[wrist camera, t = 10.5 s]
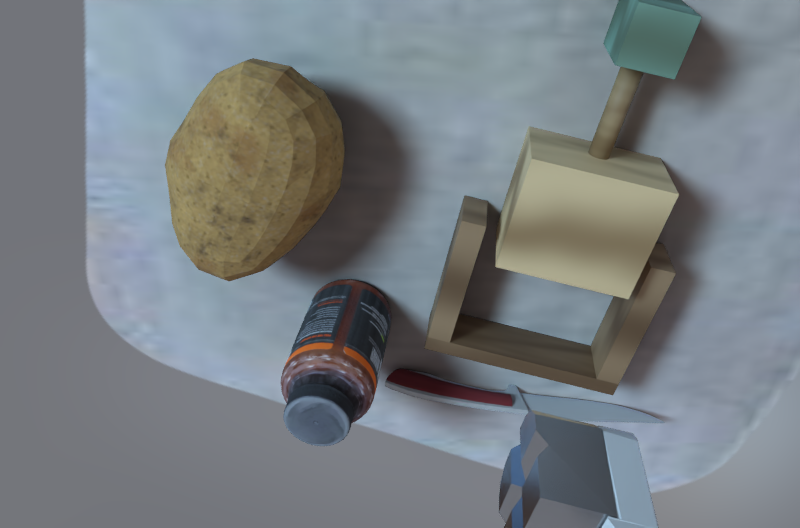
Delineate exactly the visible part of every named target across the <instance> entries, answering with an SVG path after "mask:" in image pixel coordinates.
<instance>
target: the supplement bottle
mask: <svg viewBox="0 0 800 528" xmlns="http://www.w3.org/2000/svg"><path fill="white" fill-rule="evenodd" d="M390 324H391V311H390V307H389V305H388V303H387V301H386V299H385V298H384V297H383V295H382V294H381V293H380V292H379V291H378V290H376V289H375V288H373V287H372V286H370V285H368V284H366V283H363V282H360V281H356V280H350V279H347V280H337V281H334V282H331V283H328V284H326V285H325V286H323V287H322V288H321V289H320V290H319V291H318V292H317V293H316V295H315V296H314V298H313V300H312V302H311V304H310V306H309V309H308V311H307V314H306V316H305V318H304V321H303V323H302V326H301V328H300V330H299V333H298V335H297V337H296V340H295V343H294V345H293V347H292V350H291V352H290V355H289V357H288V360H287V362H286V365H285V367H284V370H283V373H282V377H281V390H282V394H283V396H284V399H285V401H286V403H287V405H286V408H285V410H284V422H285V424H286V427H287V428H288V430H289V431H290V432H291V434H293V435H294V436H295V437H296V438H298V439H299V440H301V441H303V442H305V443H308V444H311V445H316V446H330V445H334V444H336V443H338V442H340V441H342V440H343V439H344V438H345V437H346V436H347V434H348V433H349V430H350V427H351V423H353V422H355V421H357V420H358V419H360V418H361V417H362V416H363V415H364V414H366V413H367V411H368V410H369V408H370V406H371V404H372V402H373V399H374V395H375V391H376V387H377V383H378V378H379V374H380V369H381V365H382V361H383V356H384V352H385V348H386V344H387V339H388V335H389V330H390Z"/></svg>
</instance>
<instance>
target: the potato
mask: <svg viewBox="0 0 800 528" xmlns="http://www.w3.org/2000/svg"><path fill="white" fill-rule="evenodd" d="M344 154H345V148H344V139H343V130H342V122H341V120H340V118H339V117H338V115H337V113H336V111H335V109H334V108H333V106H332V104H331V102H330V101H329V99H328V97H327V95H326V93H325V92H324V90H322V89H320V88H319V87H317V86H316V85H314V84H312V83H311V82H309V81H308V80H307V79H305V78H304V77H303V76H302V75H301V74H299V73H298V72H297V71H296V70H295V69H293V68H292V67H291V66H286V65H282V64H277V63H272V62H268V61H263V60H258V59H254V58H253V59H250V60H247V61H244V62H242V63H239V64H237V65H235V66H232V67H230V68H228V69H225V70H223V71H221V72H219V73H217V74H216V75H215V76H214V77H213V79H212V80H211V81H210V82H209V83H208V85H207V86H206V87H205V88H204V90H203V91H202V92H201V93H200V94H199V96H198V97H197V99H196V100H195V102H194V104H193V106H192V107H191V109H190V111H189V113H188V114H187V116H186V118H185V119H184V121H183V123H182V124H181V126H180V127H179V129H178V130H177V132H176V133H175V134H174V136H173V137H172V139H171V140H170V145H169V149H168V154H167V159H166V163H165V168H166V175H167V181H168V188H169V196H170V205H171V215H172V224H173V227H174V230H175V233H176V236H177V239H178V242H179V245H180V247H181V248H182V249H183V250H184V252H185V253H186V254H187V256H188V257H189V258H190V259H191V261H192V262H193V263H194V265H195V266H196V267H197V268H198V269H199V270H201V271H204V272H206V273H209V274H211V275H214V276H217V277H219V278H222V279H224V280H227V281H232V280H235V279H238V278H242V277H245V276H248V275H251V274H254V273H258V272H261V271H263V270H265V269H266V268H268V267H269V266H271V265H272V264H273V263H275V262H276V261H277V260H279V259H280V258H281V257H283V256H284V255H285V254H286V253H288V252H289V251H290V250H292V249H293V248H294V247H295V246H296V245H297V244H298V243H299V241H300V240H301V239H302V238H303V237H304V236H305V235H306V234H307V233H308V232H309V231H310V230H311V228H312V227H313V226H314V225H315V224H316V222H317V221H318V220H319V218H320V217H321V216H322V214H323V213H324V212H325V210H326V209H327V207H328V206H329V204H330V202H331V201H332V199H333V198H334V196H335V194H336V193H337V191H338V190H339V188H340V185H341V177H342V170H343V162H344Z"/></svg>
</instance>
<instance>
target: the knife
mask: <svg viewBox="0 0 800 528" xmlns="http://www.w3.org/2000/svg"><path fill="white" fill-rule="evenodd" d="M385 386H386V387H388V388H390V389H393V390H396V391H399V392H401V393H404V394H407V395H410V396H414V397H418V398H422V399H426V400H430V401H436V402H441V403H446V404H452V405H458V406H464V407H470V408H477V409H484V410H492V411H499V412H507V413H516V414H525V415H527V414H528V412H529V411H530V410H534V411H538V412H543V413H547V414H551V415H555V416H559V417H563V418H567V419H572V420H576V421H592V422H643V423H664V422H663V421H661V420H659V419H657V418H655V417H653V416H651V415H648V414H646V413H643V412H640V411H637V410H633V409H630V408H626V407H622V406H619V405H614V404H608V403H601V402H595V401H587V400H580V399H572V398H560V397H550V396H541V395H533V394H525V393H520V392H519V390H518V388H517V386H516V385H509V386H508V388H507V390H504V391H494V390H486V389H480V388H476V387H471V386H467V385H463V384H459V383H455V382H452V381H448V380H445V379H442V378H439V377H436V376H433V375H430V374H428V373H423V372H416V371H410V370H407V369H397V370H395V371H393V372H392V373H391V374H390V375H389V376H388V377H387V379H386V381H385Z"/></svg>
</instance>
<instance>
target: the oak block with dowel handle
mask: <svg viewBox="0 0 800 528" xmlns="http://www.w3.org/2000/svg"><path fill="white" fill-rule="evenodd" d="M700 20H701V16H700V15H699V14H697V13H696V12H695V11H694V10H692V9H691V8H690V7H689V6H688V5H686V4H685V3H684V2H683V1H681V0H619V2H618V4H617V7H616V10H615V13H614V15H613V18H612V21H611V24H610V27H609V29H608V32H607V35H606V38H605V40H604V45H605V47H606V49H607V51H608V53H609V55H610V57H611V59H612V60H613V62H614V64H615V65H616V66H621V68H620V70H619V73H618V75H617V78H616V81H615V83H614V86H613V88H612V91H611V94H610V96H609V99H608V101H607V104H606V107H605V109H604V112H603V114H602V117H601V120H600V122H599V125H598V128H597V130H596V133H595V135H594V138H593V141H587V140H583V139H579V138H575V137H571V136H567V135H563V134H559V133H554V132H550V131H546V130H542V129H538V128H534V127H530V126H529V127H528V130H527V134H526V137H525V140H524V143H523V146H522V149H521V152H520V155H519V158H518V161H517V165H516V168H515V171H514V174H513V177H512V180H511V183H510V186H509V189H508V193H507V196H506V199H505V202H504V205H503V208H502V211H501V214H500V217H499V220H498V224H497V227H496V266H495V267H498V268H502V269H506V270H510V271H514V272H518V273H522V274H526V275H530V276H534V277H539V278H543V279H547V280H551V281H555V282H559V283H563V284H567V285H571V286H575V287H580V288H584V289H588V290H592V291H596V292H600V293H604V294H608V295H612V296H616V297H620V298H625V299H629V297H630V295H631V293H632V291H633V289H634V287H635V285H636V283H637V281H638V279H639V277H640V275H641V273H642V270H643V268H644V266H645V264H646V262H647V260H648V258H649V256H650V254H651V252H652V250H653V248H654V246H655V244H656V241H657V239H658V237H659V235H660V233H661V231H662V229H663V227H664V225H665V223H666V221H667V219H668V217H669V215H670V212H671V210H672V208H673V206H674V204H675V202H676V200H677V198H678V196H679V193H678V191H677V189H676V187H675V185H674V184H673V182H672V180H671V178H670V176H669V174H668V172H667V170H666V168H665V166H664V164H663V162H662V160H661V158H658V157H653V156H649V155H645V154H641V153H637V152H633V151H629V150H625V149H620V148H616V147H614V145H615V142H616V140H617V137H618V135H619V132H620V130H621V127H622V125H623V122H624V120H625V117H626V115H627V112H628V110H629V107H630V105H631V102H632V100H633V98H634V95H635V93H636V90H637V88H638V85H639V83H640V80H641V78H642V75H643V73H644V72H645V73H650V74H654V75H658V76H662V77H666V78H670V79H674V80H675V78H676V75H677V73H678V71H679V68H680V66H681V64H682V61H683V59H684V57H685V54H686V52H687V50H688V48H689V45H690V43H691V41H692V38H693V36H694V34H695V31H696V29H697V27H698V24H699V22H700Z"/></svg>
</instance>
